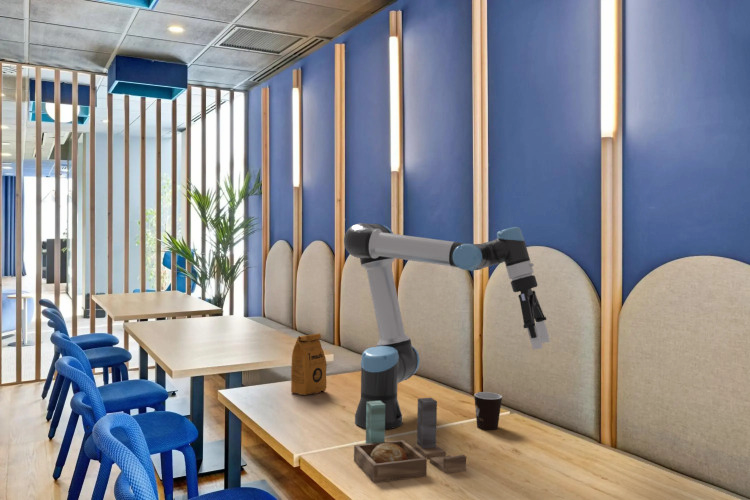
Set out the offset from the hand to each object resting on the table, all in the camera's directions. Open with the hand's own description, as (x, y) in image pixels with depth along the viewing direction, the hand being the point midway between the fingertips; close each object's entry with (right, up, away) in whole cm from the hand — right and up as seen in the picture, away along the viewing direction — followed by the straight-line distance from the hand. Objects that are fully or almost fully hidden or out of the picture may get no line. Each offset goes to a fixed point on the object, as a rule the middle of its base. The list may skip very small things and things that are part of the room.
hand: (542, 345), depth 185 cm
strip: (-31, -27, -26) cm, 49 cm away
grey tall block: (-35, -27, -15) cm, 47 cm away
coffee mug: (-15, -27, +9) cm, 32 cm away
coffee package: (-75, -25, +46) cm, 91 cm away
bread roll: (-47, -27, -28) cm, 61 cm away
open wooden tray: (-48, -27, -25) cm, 60 cm away
